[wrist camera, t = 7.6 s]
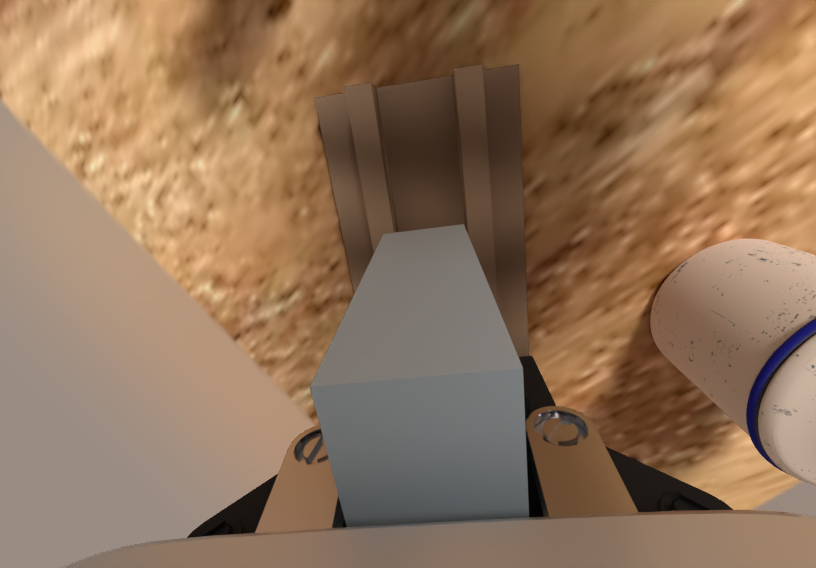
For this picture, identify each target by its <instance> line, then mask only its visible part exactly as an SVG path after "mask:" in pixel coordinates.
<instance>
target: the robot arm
mask: <svg viewBox="0 0 816 568" xmlns="http://www.w3.org/2000/svg"><path fill="white" fill-rule="evenodd" d="M519 360H520V362H521V364H522V367H523V381H524V405H525V429H526V453H527V477H528V502H529V517H528V518H507V519H488V520H469V521H450V522H432V523H414V524H396V525H378V526H360V527H347V526H346V522H345V519H344V515H343V511H342V507H341V503H340V500H339V496H338V492H337V488H336V484H335V481H334V477H333V473H332V469H331V465H330V462H329V458H328V454H327V450H326V446H325V443H324V439H323V435H322V431H321V428H320V425H319V426H315V427H312V428H310V429H308V430H306V431H304V432H303V433H301V434H300V435H298V437H296V438H295V439H294V440H293V441H292V443H291V445H290V446H289V448H288V450H287V453H286V455H285V458H284V460H283V463H282V465H281V468H280V471H279V473H278V474H277V475H275V476H274V477H272V478H271V479H269V480H268V481H266V482H265V483H263V484H262V485H260V486H259V487H257V488H256V489H254V490H252V491H251V492H249V493H248V494H246V495H245V496H243V497H242V498H241V499H239V500H237V501H236V502H234V503H233V504H231V505H230V506H228V507H227V508H225V509H224V510H222V511H221V512H219V513H218V514H216V515H215V516H213V517H212V518H210V519H209V520H207V521H205V522H204V523H203V524H201V525H200V526H199V527H198V528H196V529H195V530H194V531H192V533H191V534H190V535H189V536H188V537H187V538H182V539H172V540H163V541H153V542H146V543H141V544H135V545H130V546H124V547H121V548H117V549H113V550H110V551H106V552H102V553H99V554H95V555H92V556H89V557H87V558H84V559H82V560H79V561H76V562H74V563H71V564H69V565H66V566H64V567H61V568H816V516H809V515H802V514H794V513H787V512H775V511H757V510H733V509H732V508H730V507H729V506H728V505H727V504H726V503H724V502H723V501H721V500H719V499H718V498H716V497H714V496H712V495H710V494H709V493H706V492H704V491H702V490H700V489H698V488H695V487H693V486H691V485H689V484H687V483H684V482H682V481H680V480H678V479H676V478H673V477H671V476H669V475H667V474H665V473H662V472H660V471H658V470H656V469H654V468H651V467H649V466H647V465H645V464H643V463H641V462H638V461H636V460H634V459H632V458H630V457H627V456H625V455H623V454H621V453H619V452H616V451H614V450H612V449H610V448H608V447H605V445H604V443H603V441H602V439H601V437H600V435H599V433H598V431H597V429H596V427H595V425H594V424H593V423H592V421H591V420H590V419H589V418H588V417H587V416H585V415H584V414H583V413H581V412H579V411H576V410H574V409H571V408H567V407H563V406H556V405H555V403H554V400H553V398H552V396H551V394H550V392H549V390H548V388H547V386H546V384H545V382H544V380H543V377H542V375H541V373H540V371H539V369H538V367H537V365H536V363H535V361H534V359H533V357H532V356H522V357H519Z"/></svg>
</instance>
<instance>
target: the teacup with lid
mask: <svg viewBox="0 0 816 568" xmlns="http://www.w3.org/2000/svg"><path fill="white" fill-rule="evenodd" d="M650 326H651V333H652V336H653V339H654V342H655V344H656V346H657V347H658V349H659V350H660V352H661V353H662V354H663V355H664V356H665V357H666V358H667V359H668V360H669V361H670V362H671V363H672V364H673V365H674V366H675V367H676V368H677V369H678V370H680V371H681V372H682V373H683V374H684V375H685V376H686V377H687V378H688V379H689V380H690V381H691V382H692V383H693V384H694V385H696V386H697V387H698V388H699V389H700V390H701V391H702V392H703V393H704V394H705V395H706V396H707V397H708V398H709V399H710V400H712V401H713V402H714V403H715V404H716V405H717V406H718V407H719V408H720V409H721V410H722V411H723V412H724V413H725V414H726V415H728V416H729V417H730V418H731V419H732V420H733V421H734V422H735V423H736V424H737V425H738V426H739V427H740V428H741V429H743V430H744V431H745V432H746V433H747V434H748V435H749V436H750V438H751V440H752V442H753V444H754V446H755V447H756V449H757V450H758V451H759V453H760V454H761V455H762V456H763V457H764V458H765V459H766V460H767V461H768V462H770V463H771V464H772V465H773V466H775V467H776V468H778V469H780V470H781V471H783V472H785V473H787V474H789V475H791V476H793V477H795V478H797V479H799V480H801V481H804V482H807V483H810V484H813V485H816V255H813V254H810V253H807V252H803V251H800V250H797V249H794V248H791V247H787V246H784V245H781V244H778V243H774V242H771V241H766V240H760V239H737V240H731V241H726V242H722V243H718V244H715V245H713V246H710V247H708V248H705V249H703V250H701V251H699V252H698V253H696V254H694V255H692V256H691V257H689V258H688V259H686V260H685V261H684V262H683V263H681V264H680V265H679V266H678V267H677V268H676V269H675V270H674V271H673V272H672V273H671V274H670V275H669V276H668V277H667V279H666V280H665V281H664V283H663V284H662V286H661V287H660V289H659V291H658V292H657V295H656V297H655V299H654V302H653V305H652V309H651V316H650Z"/></svg>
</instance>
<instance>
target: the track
mask: <svg viewBox="0 0 816 568" xmlns="http://www.w3.org/2000/svg"><path fill="white" fill-rule="evenodd" d="M344 88H345V93H341V94H335V95H329V96H323V97H317V98H315V103H316V108H317V113H318V118H319V123H320V128H321V133H322V138H323V143H324V148H325V153H326V157H327V162H328V167H329V172H330V177H331V182H332V187H333V192H334V197H335V202H336V207H337V212H338V217H339V221H340V226H341V231H342V236H343V241H344V246H345V251H346V256H347V261H348V266H349V271H350V276H351V281H352V286H353V290H354V294H355V292H356V290H357V288H358V286H359V284H360V282H361V280H362V278H363V275H364V273H365V271H366V269H367V267H368V265H369V263H370V261H371V259H372V257H373V255H374V253H375V251H376V248H377V246H378V244H379V242H380V240H381V238H382V236H383V234H389V233H397V232H405V231H413V230H421V229H429V228H437V227H445V226H453V225H461V224H464V226H465V229H466V231H467V233H468V236H469V238H470V241H471V243H472V246H473V248H474V250H475V253H476V255H477V258H478V260H479V262H480V265H481V267H482V270H483V272H484V275H485V277H486V279H487V282H488V284H489V287H490V289H491V292H492V294H493V296H494V299H495V301H496V304H497V306H498V309H499V311H500V313H501V316H502V318H503V321H504V323H505V326H506V328H507V330H508V333H509V335H510V338H511V340H512V343H513V345H514V347H515V350H516V352H517V355H518V357H522V356H529V341H528V313H527V285H526V258H525V230H524V202H523V174H522V146H521V118H520V90H519V64H518V65H512V66H506V67H500V68H494V69H488V70H483V66H482V64H479V65H473V66H467V67H461V68H455V69H454V71H453V74H452V75H451V76H445V77H439V78H433V79H427V80H420V81H414V82H408V83H402V84H396V85H390V86H384V87H378V88H376V87H375V86H374V85H373V84H372V83H371V82H370V83H364V84H358V85H352V86H346V87H344Z"/></svg>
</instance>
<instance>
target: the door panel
mask: <svg viewBox="0 0 816 568" xmlns="http://www.w3.org/2000/svg"><path fill="white" fill-rule="evenodd" d="M310 390H311V393H312V397H313V401H314V405H315V409H316V412H317V416H318V420H319V424H320V428H321V431H322V435H323V439H324V443H325V446H326V450H327V454H328V458H329V462H330V465H331V469H332V473H333V477H334V481H335V484H336V488H337V492H338V496H339V500H340V503H341V507H342V511H343V515H344V519H345V522H346V526H347V527H360V526H378V525H396V524H414V523H432V522H450V521H469V520H488V519H507V518H528V517H529V502H528V477H527V453H526V429H525V405H524V381H523V367H522V364H521V362H520V360H519V357H518V355H517V352H516V350H515V347H514V345H513V343H512V340H511V338H510V335H509V333H508V330H507V328H506V326H505V323H504V321H503V318H502V316H501V313H500V311H499V309H498V306H497V304H496V301H495V299H494V296H493V294H492V292H491V289H490V287H489V284H488V282H487V279H486V277H485V275H484V272H483V270H482V267H481V265H480V262H479V260H478V258H477V255H476V253H475V250H474V248H473V246H472V243H471V241H470V238H469V236H468V233H467V231H466V229H465V226H464V224H461V225H453V226H445V227H437V228H429V229H421V230H413V231H405V232H397V233H389V234H383V236H382V238H381V240H380V242H379V244H378V246H377V248H376V251H375V253H374V255H373V257H372V259H371V261H370V263H369V265H368V267H367V269H366V271H365V273H364V275H363V278H362V280H361V282H360V284H359V286H358V288H357V290H356V292H355V294H354V296H353V298H352V300H351V302H350V304H349V307H348V309H347V311H346V313H345V315H344V317H343V319H342V321H341V323H340V325H339V327H338V329H337V331H336V334H335V336H334V338H333V340H332V342H331V344H330V346H329V348H328V350H327V352H326V354H325V356H324V358H323V360H322V363H321V365H320V367H319V369H318V371H317V373H316V375H315V377H314V379H313V381H312V383H311V385H310Z"/></svg>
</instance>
